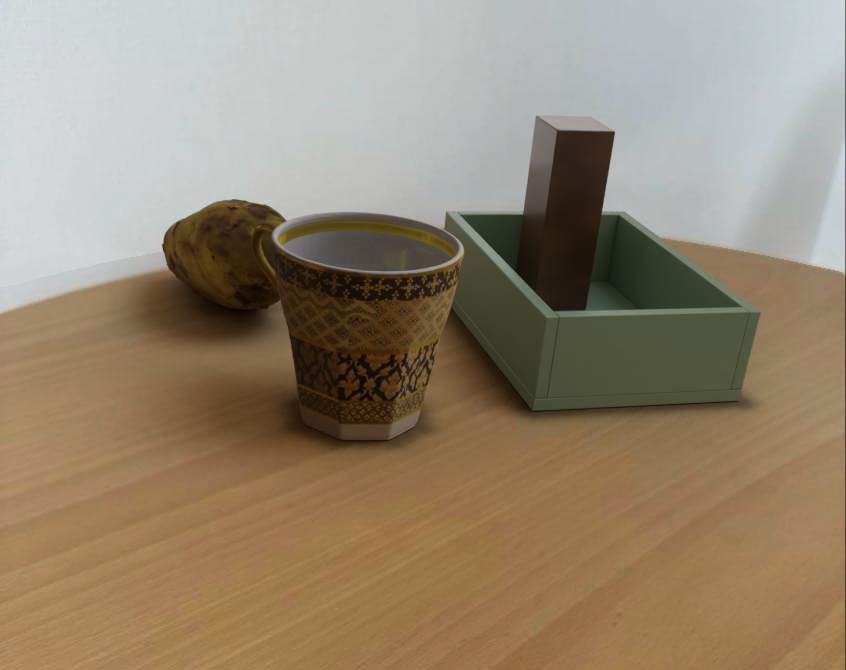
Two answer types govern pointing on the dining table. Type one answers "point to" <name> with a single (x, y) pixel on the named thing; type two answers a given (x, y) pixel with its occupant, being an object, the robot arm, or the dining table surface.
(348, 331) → the ceramic cup
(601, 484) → the dining table surface
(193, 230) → the potato
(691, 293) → the bin
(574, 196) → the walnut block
